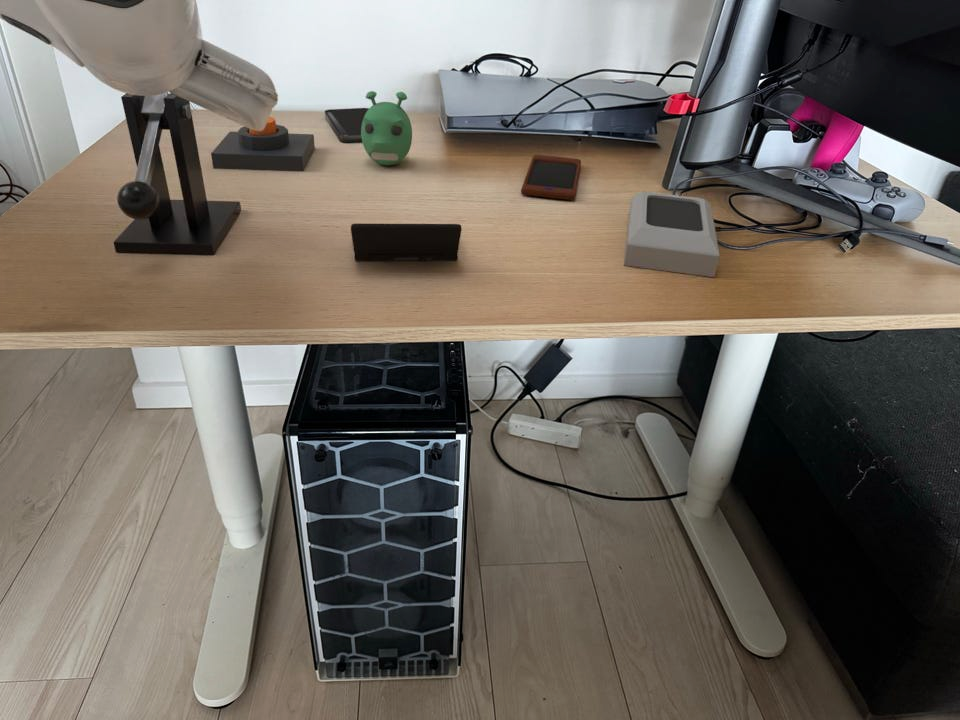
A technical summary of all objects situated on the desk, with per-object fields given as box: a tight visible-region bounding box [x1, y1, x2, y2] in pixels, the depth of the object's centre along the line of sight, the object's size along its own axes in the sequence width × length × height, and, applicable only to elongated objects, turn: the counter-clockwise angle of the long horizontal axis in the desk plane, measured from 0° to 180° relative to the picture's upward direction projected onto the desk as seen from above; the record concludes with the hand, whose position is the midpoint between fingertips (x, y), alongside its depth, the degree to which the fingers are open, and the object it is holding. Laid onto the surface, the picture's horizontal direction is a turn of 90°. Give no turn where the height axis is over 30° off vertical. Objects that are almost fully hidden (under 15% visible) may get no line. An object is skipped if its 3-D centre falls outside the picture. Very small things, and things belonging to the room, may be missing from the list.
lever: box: [116, 92, 170, 220], centre depth 69 cm, size 14×4×4 cm
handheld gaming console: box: [350, 223, 463, 262], centre depth 74 cm, size 12×7×10 cm
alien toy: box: [361, 90, 413, 167], centre depth 97 cm, size 7×8×10 cm
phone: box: [324, 107, 370, 144], centre depth 113 cm, size 8×1×15 cm
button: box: [249, 116, 277, 135], centre depth 97 cm, size 4×4×2 cm
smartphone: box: [520, 154, 582, 201], centre depth 97 cm, size 7×1×15 cm
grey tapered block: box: [623, 191, 721, 278], centre depth 81 cm, size 10×4×15 cm
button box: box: [210, 124, 316, 172], centre depth 98 cm, size 12×10×4 cm
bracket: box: [113, 92, 242, 256], centre depth 74 cm, size 12×10×15 cm
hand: (156, 74), depth 62 cm, fingers open, 8 cm apart
